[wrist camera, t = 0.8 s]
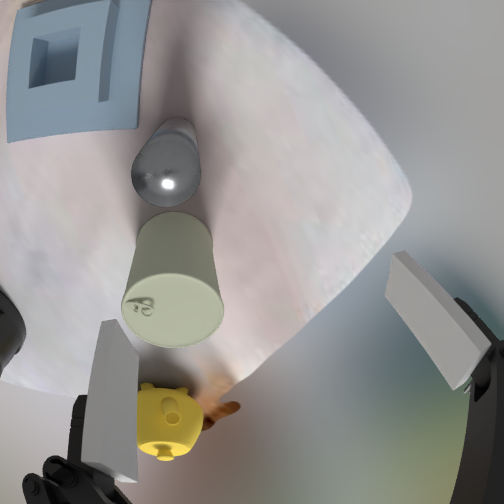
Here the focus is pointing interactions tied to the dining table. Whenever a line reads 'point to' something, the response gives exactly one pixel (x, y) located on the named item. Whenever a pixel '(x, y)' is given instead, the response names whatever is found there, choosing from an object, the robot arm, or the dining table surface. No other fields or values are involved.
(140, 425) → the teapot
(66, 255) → the dining table surface
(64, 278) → the dining table surface
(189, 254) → the can
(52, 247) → the dining table surface
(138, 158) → the peg
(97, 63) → the socket block
